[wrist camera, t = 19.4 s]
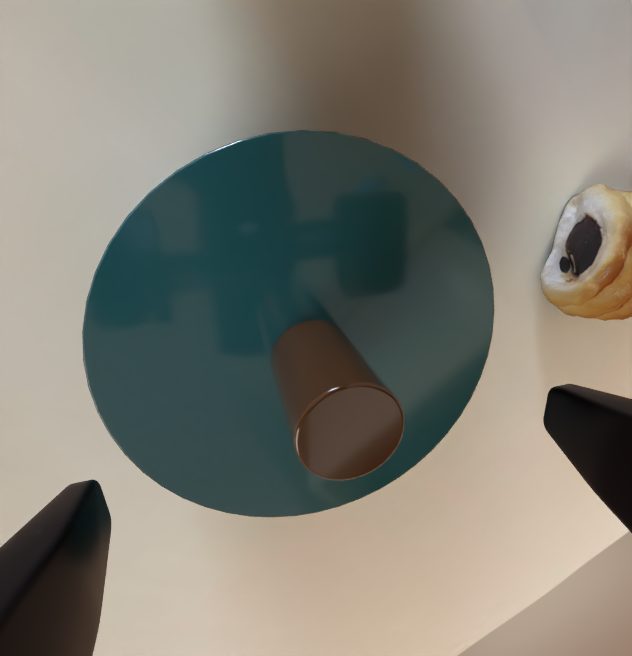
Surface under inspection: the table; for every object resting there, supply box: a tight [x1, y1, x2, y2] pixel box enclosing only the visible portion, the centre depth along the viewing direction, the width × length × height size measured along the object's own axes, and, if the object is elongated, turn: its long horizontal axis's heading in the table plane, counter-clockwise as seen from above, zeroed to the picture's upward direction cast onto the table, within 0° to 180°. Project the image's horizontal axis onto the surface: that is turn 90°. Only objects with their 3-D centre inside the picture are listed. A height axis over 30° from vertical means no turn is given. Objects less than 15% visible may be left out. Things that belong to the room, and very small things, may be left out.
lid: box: [82, 130, 494, 517], centre depth 11 cm, size 13×13×5 cm
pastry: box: [540, 184, 632, 321], centre depth 22 cm, size 9×7×4 cm
